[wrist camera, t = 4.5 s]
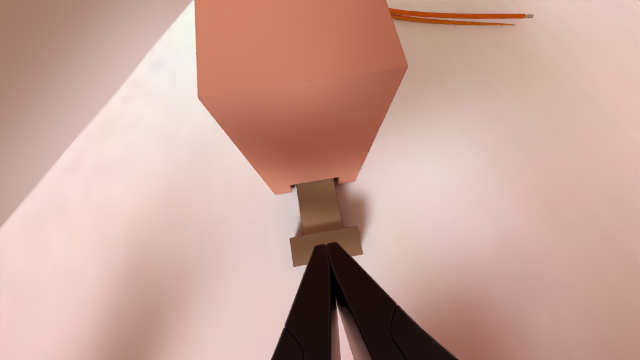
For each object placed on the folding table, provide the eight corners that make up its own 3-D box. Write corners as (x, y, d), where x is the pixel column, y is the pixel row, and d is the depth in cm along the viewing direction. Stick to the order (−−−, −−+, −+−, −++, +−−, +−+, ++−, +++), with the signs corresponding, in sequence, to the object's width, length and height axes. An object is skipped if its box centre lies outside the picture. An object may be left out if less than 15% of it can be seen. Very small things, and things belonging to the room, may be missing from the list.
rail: (363, 252, 20) (377, 252, 15) (291, 266, 20) (280, 270, 15) (322, 59, 25) (322, 14, 21) (264, 67, 25) (251, 24, 20)
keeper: (354, 181, 21) (408, 66, 8) (275, 194, 21) (198, 98, 8) (343, 130, 23) (373, -37, 10) (268, 142, 22) (193, -14, 9)
